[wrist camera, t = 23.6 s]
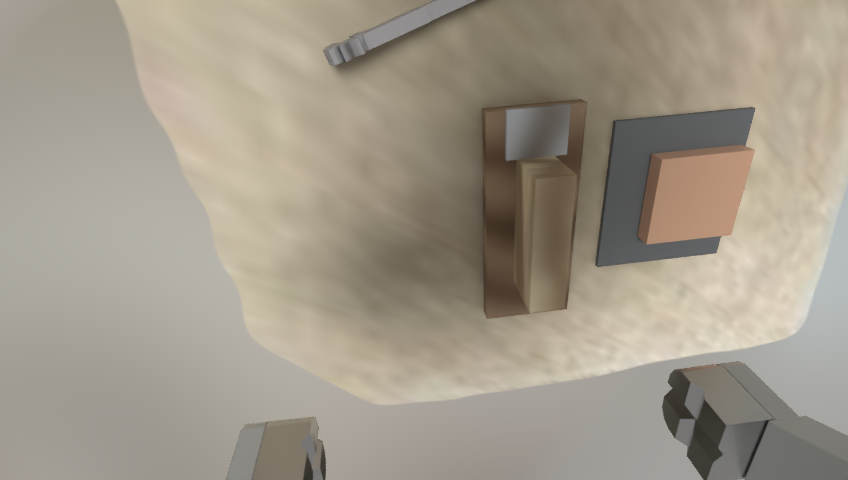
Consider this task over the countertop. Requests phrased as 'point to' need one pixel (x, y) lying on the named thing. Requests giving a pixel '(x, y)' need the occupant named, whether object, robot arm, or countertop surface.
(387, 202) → the countertop surface
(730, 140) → the mat
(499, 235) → the board
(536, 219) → the scraper
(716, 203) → the tile
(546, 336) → the countertop surface
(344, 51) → the caliper
